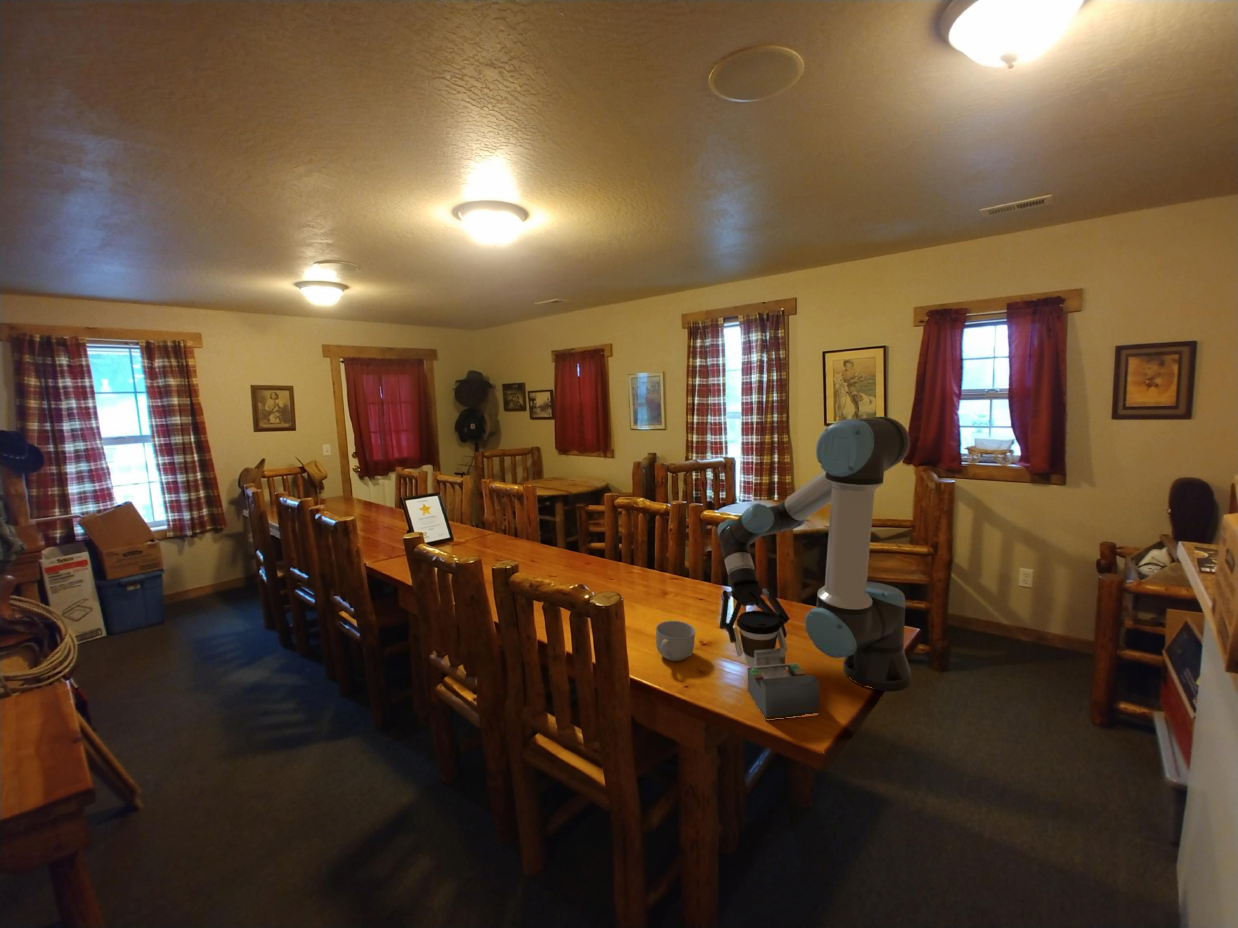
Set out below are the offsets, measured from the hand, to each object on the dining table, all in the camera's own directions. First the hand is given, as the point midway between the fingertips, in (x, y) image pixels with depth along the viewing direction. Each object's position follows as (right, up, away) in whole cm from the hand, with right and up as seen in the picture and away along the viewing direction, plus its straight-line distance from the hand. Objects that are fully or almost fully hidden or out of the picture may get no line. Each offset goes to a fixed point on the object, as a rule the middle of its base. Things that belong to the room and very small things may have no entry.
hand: (762, 652), depth 129 cm
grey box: (+1, -8, -11) cm, 14 cm away
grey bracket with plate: (+1, -6, -7) cm, 9 cm away
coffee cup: (0, -4, +3) cm, 5 cm away
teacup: (-21, -6, +12) cm, 25 cm away
